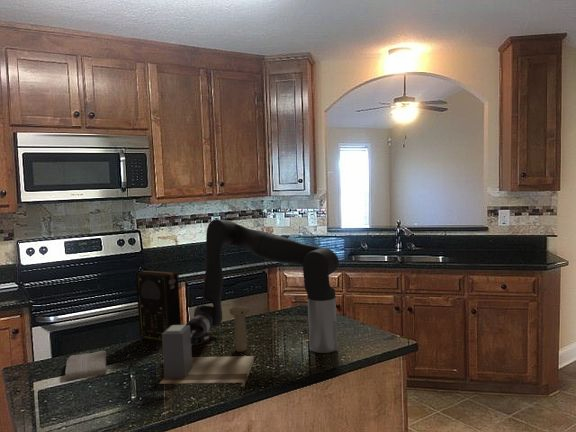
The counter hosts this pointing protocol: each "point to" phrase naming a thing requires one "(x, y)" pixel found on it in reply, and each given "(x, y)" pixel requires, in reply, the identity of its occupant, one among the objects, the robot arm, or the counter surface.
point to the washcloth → (86, 365)
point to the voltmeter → (157, 303)
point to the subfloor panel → (216, 370)
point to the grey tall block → (177, 351)
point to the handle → (240, 327)
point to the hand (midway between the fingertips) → (182, 346)
